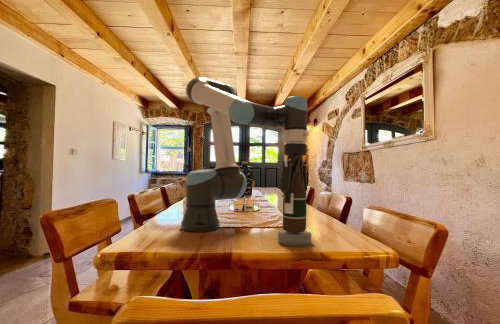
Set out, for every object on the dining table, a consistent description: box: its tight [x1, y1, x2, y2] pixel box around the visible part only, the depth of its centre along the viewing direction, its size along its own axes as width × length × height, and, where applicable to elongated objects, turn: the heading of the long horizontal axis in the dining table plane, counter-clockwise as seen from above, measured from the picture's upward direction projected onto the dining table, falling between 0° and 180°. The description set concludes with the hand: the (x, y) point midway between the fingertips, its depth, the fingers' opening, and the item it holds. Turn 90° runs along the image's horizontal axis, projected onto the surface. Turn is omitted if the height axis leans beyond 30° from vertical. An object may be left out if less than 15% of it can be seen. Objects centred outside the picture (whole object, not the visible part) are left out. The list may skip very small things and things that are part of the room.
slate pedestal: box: [277, 229, 312, 248], centre depth 91 cm, size 11×11×3 cm
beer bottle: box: [282, 158, 307, 233], centre depth 91 cm, size 8×8×24 cm
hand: (294, 211), depth 91 cm, fingers closed on beer bottle, 8 cm apart
